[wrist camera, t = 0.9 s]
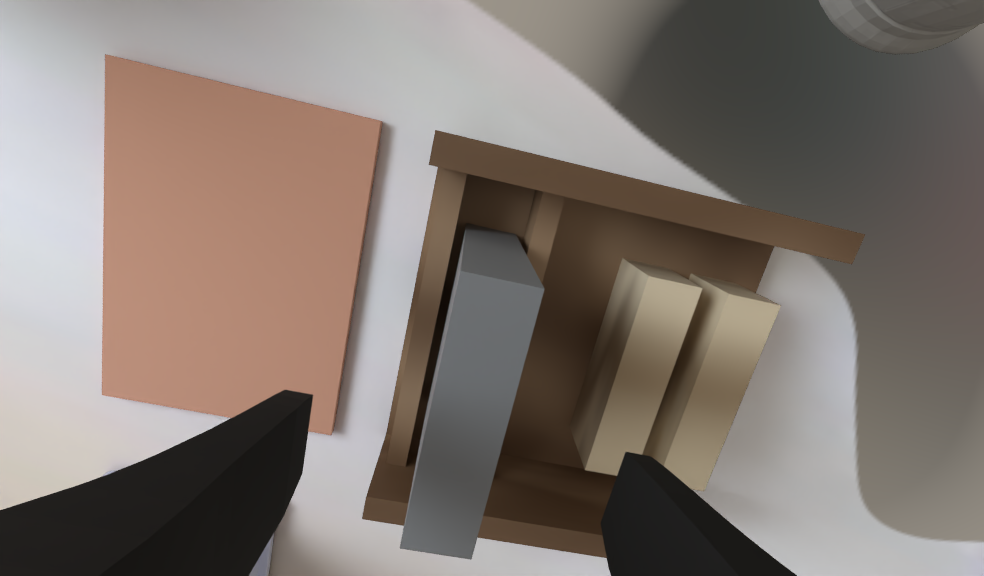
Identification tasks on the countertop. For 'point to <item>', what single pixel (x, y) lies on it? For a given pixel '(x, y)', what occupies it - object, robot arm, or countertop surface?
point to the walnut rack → (560, 315)
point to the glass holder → (904, 22)
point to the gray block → (472, 391)
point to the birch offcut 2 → (709, 378)
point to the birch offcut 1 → (631, 363)
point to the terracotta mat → (228, 242)
